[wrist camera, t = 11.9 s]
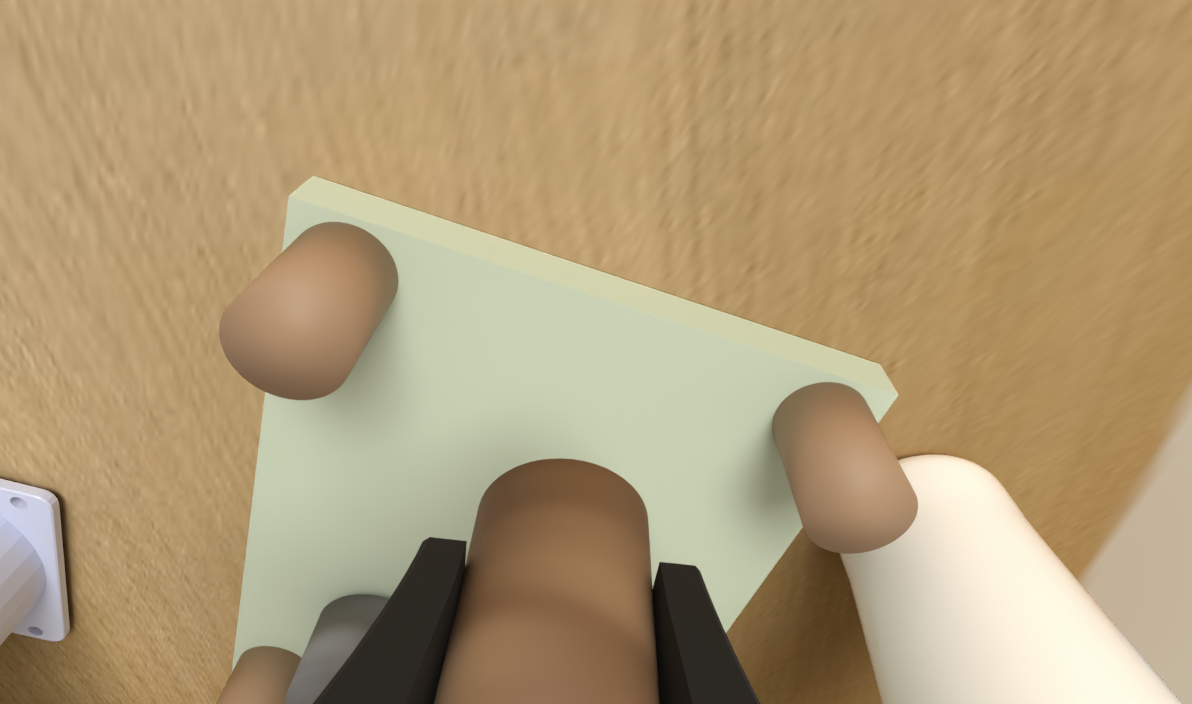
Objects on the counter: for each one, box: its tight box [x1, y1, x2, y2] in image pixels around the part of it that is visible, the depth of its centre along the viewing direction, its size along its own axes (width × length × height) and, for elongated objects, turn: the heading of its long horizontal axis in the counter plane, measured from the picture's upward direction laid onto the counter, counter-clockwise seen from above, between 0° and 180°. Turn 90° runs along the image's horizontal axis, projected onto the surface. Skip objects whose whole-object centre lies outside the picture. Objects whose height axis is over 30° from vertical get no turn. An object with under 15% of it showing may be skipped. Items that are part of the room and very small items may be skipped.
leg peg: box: [434, 458, 660, 704], centre depth 10 cm, size 3×3×6 cm
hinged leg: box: [286, 594, 389, 704], centre depth 23 cm, size 13×4×3 cm, turn 68°
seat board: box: [216, 176, 918, 704], centre depth 21 cm, size 17×21×5 cm
